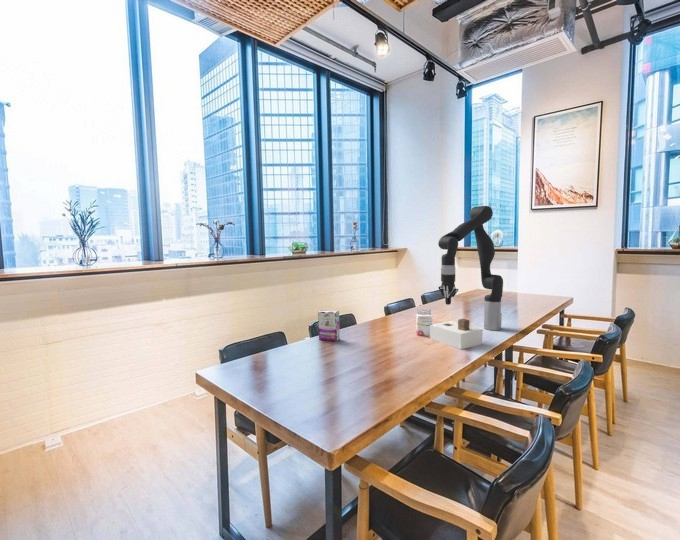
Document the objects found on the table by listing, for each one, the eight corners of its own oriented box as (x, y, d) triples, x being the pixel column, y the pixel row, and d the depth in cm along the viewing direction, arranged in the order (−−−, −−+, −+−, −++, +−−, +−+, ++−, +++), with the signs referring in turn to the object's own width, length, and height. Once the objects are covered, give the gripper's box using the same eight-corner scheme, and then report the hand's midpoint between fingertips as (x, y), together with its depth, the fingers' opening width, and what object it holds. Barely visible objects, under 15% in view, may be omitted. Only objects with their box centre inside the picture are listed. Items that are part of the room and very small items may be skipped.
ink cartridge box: (417, 335, 204) (417, 310, 203) (416, 333, 209) (416, 309, 208) (432, 335, 203) (432, 310, 202) (431, 333, 208) (431, 309, 207)
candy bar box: (340, 339, 201) (339, 310, 199) (336, 341, 196) (336, 312, 195) (322, 337, 205) (321, 309, 203) (318, 339, 200) (317, 311, 199)
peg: (463, 331, 190) (463, 318, 189) (469, 333, 186) (469, 320, 185) (458, 332, 188) (458, 319, 187) (463, 334, 184) (464, 321, 184)
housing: (450, 334, 206) (450, 320, 205) (482, 344, 187) (482, 329, 186) (430, 338, 198) (430, 324, 197) (461, 349, 179) (461, 333, 178)
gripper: (462, 273, 189) (462, 305, 191) (444, 271, 201) (444, 301, 203) (452, 274, 186) (452, 307, 188) (434, 272, 197) (434, 303, 199)
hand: (448, 304), depth 195 cm, fingers closed
